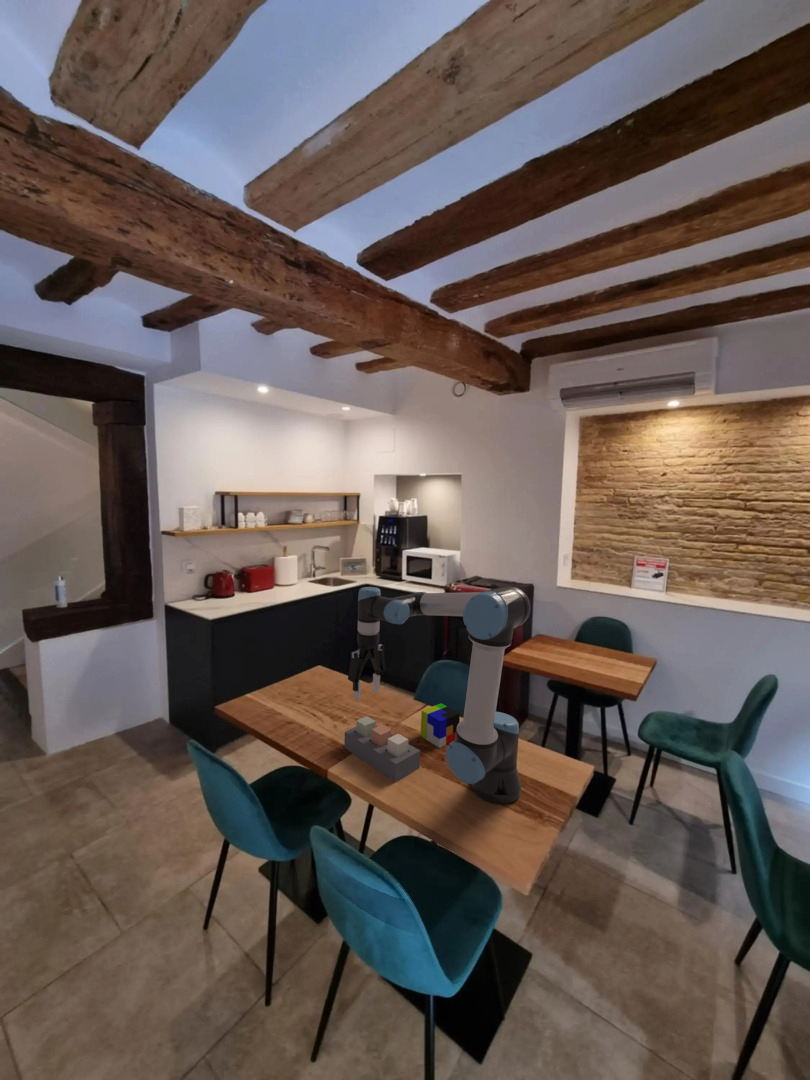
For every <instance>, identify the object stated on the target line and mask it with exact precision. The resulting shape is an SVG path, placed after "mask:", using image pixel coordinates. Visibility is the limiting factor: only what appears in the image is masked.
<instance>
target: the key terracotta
mask: <svg viewBox="0 0 810 1080" xmlns="http://www.w3.org/2000/svg"><path fill="white" fill-rule="evenodd" d="M392 733H393V732H392V729H390V728H389V727H387V726H386V725H383V724H380V725H378V727H376V728H373V729H372V731H371V742H372V743H374V744H375V745H377V746H379V747H380V748H381V747H383V746H385V745H387V744H388V738H390V737H391V734H392Z"/></svg>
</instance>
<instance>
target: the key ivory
mask: <svg viewBox="0 0 810 1080" xmlns="http://www.w3.org/2000/svg"><path fill="white" fill-rule="evenodd" d="M408 744H409V739H408V738H407V737H405V736H403V735H401V734H400V733H396V734H395V735H394V736H392V737H390V738H388V745H387V752H388V753H390V754H392V755H393V756H395V757H397V758H399V757H401V756H402V755H404V754H406V753H408Z"/></svg>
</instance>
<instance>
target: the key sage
mask: <svg viewBox="0 0 810 1080" xmlns="http://www.w3.org/2000/svg"><path fill="white" fill-rule="evenodd" d="M355 724H356V726H355V727H356V733H357V734H359V735H361V736H362V737H364V738H366V737H368V736H371V731H372V729H373V728H376V726H377V720H375V719H373V718H371V717H369V716H367V715H365V717H361V718H360V719H357V720H356V723H355Z"/></svg>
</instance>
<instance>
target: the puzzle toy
mask: <svg viewBox="0 0 810 1080" xmlns="http://www.w3.org/2000/svg"><path fill="white" fill-rule="evenodd" d="M460 716H461V713H460V712H458V711H456V710H454V709H452V708H451V707H449V706H447V705H445V704H444V703H442V702H441V703H439V704H436V705H433V706H430V707H426V708H424V709H421V717H420V719H421V720H420V737H422V738H423V739H425V740H426V741H428V742H430V743H431V744H433V745H434V746H435V747H437V748H442V747H444V746H447V745H448V744H449V745H450V744H451V743H452V742H454V741H455V736H456V729H457V725H458V724H459V723H460V722H461V721H460V720H461V719H460Z"/></svg>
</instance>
